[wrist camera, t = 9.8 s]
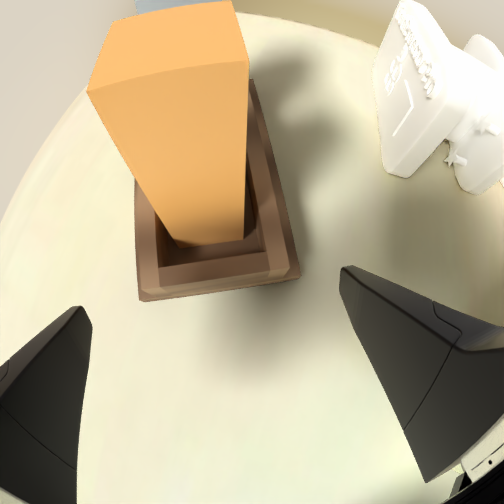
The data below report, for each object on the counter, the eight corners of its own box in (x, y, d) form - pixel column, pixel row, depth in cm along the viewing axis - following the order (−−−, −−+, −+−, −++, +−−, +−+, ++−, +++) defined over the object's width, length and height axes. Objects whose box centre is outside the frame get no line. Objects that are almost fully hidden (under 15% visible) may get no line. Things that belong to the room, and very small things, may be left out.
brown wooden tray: (298, 278, 19) (312, 263, 15) (144, 302, 18) (120, 292, 14) (252, 86, 23) (254, 53, 20) (142, 103, 23) (131, 71, 19)
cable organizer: (469, 213, 21) (555, 150, 10) (373, 183, 21) (450, 78, 10) (443, 101, 25) (488, 35, 14) (363, 70, 25) (396, -14, 14)
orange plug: (243, 239, 18) (248, 60, 6) (179, 248, 18) (86, 91, 5) (234, 183, 19) (231, 0, 7) (175, 191, 19) (113, 21, 7)
